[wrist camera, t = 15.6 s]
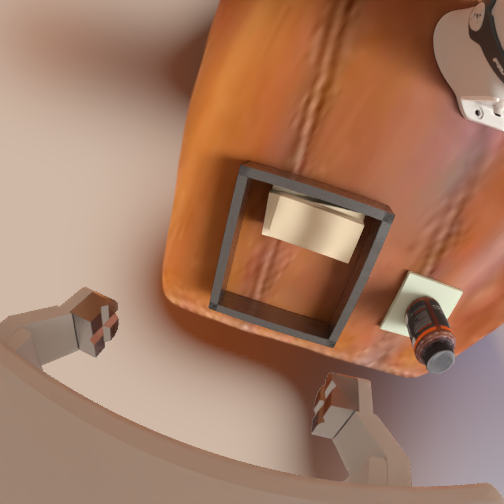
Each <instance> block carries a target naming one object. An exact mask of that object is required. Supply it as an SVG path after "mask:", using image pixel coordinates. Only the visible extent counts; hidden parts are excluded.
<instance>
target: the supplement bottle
mask: <svg viewBox="0 0 504 504" xmlns="http://www.w3.org/2000/svg"><path fill="white" fill-rule="evenodd" d="M405 323H406V327H407V329H408V333H409V336H410V339H411V343H412V346H413V350H414V353H415V356H416V358H417V360H418V361H419V362H420V363H422V364H424V365H426V368H427V370H428V371H429V372H430V373H434V374H438V373H442V372H444V371H446V370H447V369H449V368H450V367H451V366H452V364H453V363H454V361H455V354H454V349H455V346H456V339H455V336H454V333H453V331H452V329H451V327H450V325H449V323H448V321H447V319H446V316H445V314H444V312H443V310H442V308H441V306H440V305H439V303H438V302H437V301H436V300H435V299H434V298H431V297H421V298H419V299H416V300H415V301H413V302H412V303H411V304H410V305H409V306H408V308H407V309H406V312H405Z"/></svg>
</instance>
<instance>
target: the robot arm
mask: <svg viewBox="0 0 504 504" xmlns="http://www.w3.org/2000/svg"><path fill="white" fill-rule="evenodd" d="M433 47H434V53H435V57H436V61H437V64H438V66H439V68H440V71H441V73H442V75H443V76H444V78H445V80H446V81H447V83H448V84H449V85H450V87H451V88H452V90H453V91H454V93H455V95H456V98H457V102H458V105H459V109H460V111H461V114H462V115H463V117H464V118H465V119H467V120H470V121H473V122H476V123H479V124H482V125H485V126H488V127H491V128H494V129H497V130H500V131H502V132H504V0H482V1H481V2H480V3H479V4H478V5H477V6H474V7H471V8H467V9H461V10H454V11H451V12H449V13H447V14H445V15H444V16H443V17H442V18H441V19H440V20H439V22H438V23H437V25H436V28H435V31H434V36H433ZM476 110H477V111H478V116H477V115H476V114H475V111H476ZM117 310H118V303H117V302H116V301H115V300H112V299H111V298H109V297H106V296H104V295H102V294H100V293H98V292H95V291H93V290H91V289H89V288H86V287H84V288H82V289H80V290H79V291H78V292H77V293H76V294H74V295H73V296H72V297H71V298H70V299H68V300H67V301H66V302H65V303H63V304H62V305H61V306H60V307H59V306H53V307H48V308H44V309H39V310H35V311H30V312H26V313H21V314H17V315H12V316H8V317H7V318H6V319H5V320H3V321H2V322H1V323H0V504H504V497H503V496H502V495H501V494H500V493H499V491H498V490H497V489H496V488H495V487H494V486H493V485H492V484H489V483H477V484H467V485H454V486H435V487H434V486H432V487H412V482H411V469H410V459H409V458H408V456H407V455H406V454H405V452H404V451H403V450H402V448H401V447H400V446H399V444H398V443H397V442H396V440H395V439H394V438H393V436H392V435H391V434H390V432H389V431H388V430H387V428H386V427H385V426H384V424H383V423H382V421H381V420H380V419H379V417H378V416H377V415H374V414H373V406H372V395H371V383H370V381H369V380H366V379H361V378H355V377H351V376H346V375H342V374H338V373H333V372H330V373H329V374H328V376H327V377H326V381H325V385H324V386H321V388H320V390H319V392H318V394H317V396H316V399H315V404H314V411H315V413H316V415H315V417H314V418H313V421H312V430H311V434H313V435H317V436H322V437H326V438H331V439H333V442H334V444H335V446H336V448H337V450H338V452H339V454H340V456H341V459H342V461H343V463H344V465H345V467H346V469H347V471H348V473H349V475H350V477H348V478H347V479H346V480H345V481H344V482H338V481H331V480H324V479H318V478H312V477H306V476H301V475H295V474H290V473H286V472H281V471H276V470H272V469H268V468H264V467H260V466H255V465H252V464H248V463H244V462H241V461H237V460H234V459H230V458H227V457H224V456H220V455H218V454H214V453H211V452H208V451H205V450H202V449H199V448H196V447H193V446H191V445H188V444H186V443H183V442H180V441H178V440H175V439H173V438H170V437H168V436H165V435H163V434H160V433H158V432H155V431H153V430H151V429H148V428H146V427H144V426H142V425H139V424H137V423H135V422H133V421H131V420H129V419H127V418H124V417H122V416H120V415H118V414H116V413H114V412H112V411H110V410H108V409H107V408H104V407H103V406H101V405H99V404H97V403H95V402H93V401H91V400H90V399H88V398H86V397H84V396H83V395H81V394H79V393H77V392H76V391H74V390H72V389H71V388H69V387H67V386H66V385H64V384H62V383H61V382H59V381H57V380H56V379H54V378H53V377H51V376H50V375H48V374H47V373H45V372H43V369H42V365H44V364H46V363H49V362H51V361H54V360H56V359H58V358H61V357H63V356H66V355H68V354H71V353H73V352H75V351H78V349H79V350H81V351H83V352H85V353H87V354H89V355H91V356H93V357H97V356H98V355H99V353H100V352H101V351H102V350H103V349H104V348H105V342H107V341H110V340H112V338H113V337H114V336H115V334H116V332H117V330H118V324H119V323H118V321H119V319H118V317H117V316H116V314H115V312H116V311H117Z"/></svg>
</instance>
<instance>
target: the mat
mask: <svg viewBox="0 0 504 504" xmlns="http://www.w3.org/2000/svg"><path fill="white" fill-rule="evenodd" d="M462 293H463V291H462V290H461V289H458V288H456V287H453V286H450V285H448V284H445V283H442V282H439V281H437V280H434V279H431V278H428V277H426V276H423V275H420V274H417V273H414V272H412V271H408V273H407V275H406V277H405V279H404V281H403V283H402V285H401V287H400V289H399V291H398V293H397V295H396V297H395V299H394V301H393V303H392V305H391V306H390V308H389V310H388V312H387V314H386V316H385V317H384V319H383V321H382V323H381V324H380V329H383V330H387V331H390V332H394V333H397V334H401V335H405V336H408V337H410V336H409V333H408V329H407V327H406V323H405V312H406V309H407V308H408V306H409V305H410V304H411V303H412V302H413V301H415V300H416V299H419V298H421V297H431V298H434V299H435V300H436V301H437V302H438V303H439V305H440V306H441V308H442V310H443V312H444V314H445V316H446V319H448V317H449V316H450V314H451V312H452V311H453V309H454V307H455V306H456V304H457V302H458V300H459V299H460V297H461V295H462Z"/></svg>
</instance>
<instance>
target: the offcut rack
mask: <svg viewBox="0 0 504 504" xmlns="http://www.w3.org/2000/svg"><path fill="white" fill-rule="evenodd" d="M253 179H256V180H259V181H263V182H266V183H269V184H273V185H276V186H279V187H283V188H286V189H289V190H292V191H296V192H299V193H302V194H305V195H308V196H311V197H314V198H318V199H321V200H324V201H327V202H330V203H333V204H336V205H339V206H342V207H345V208H347V209H350V210H353V211H356V212H359V213H362V214H365V215H367V216H370V217H373V218H375V219H374V222H373V224H372V227H371V229H370V232H369V234H368V237H367V239H366V242H365V244H364V247H363V249H362V251H361V254H360V256H359V259H358V261H357V263H356V266H355V268H354V270H353V273H352V275H351V277H350V280H349V282H348V284H347V286H346V289H345V291H344V293H343V295H342V297H341V299H340V302H339V304H338V306H337V308H336V310H335V312H334V314H333V317H332V319H331V321H330V323H325V322H322V321H319V320H315V319H312V318H309V317H306V316H302V315H299V314H296V313H293V312H290V311H286V310H283V309H280V308H277V307H274V306H271V305H268V304H265V303H262V302H259V301H255V300H252V299H249V298H246V297H243V296H240V295H237V294H234V293H232V292H229V291H226V287H227V283H228V278H229V274H230V270H231V266H232V262H233V258H234V254H235V250H236V245H237V241H238V237H239V233H240V229H241V225H242V221H243V217H244V213H245V209H246V205H247V201H248V197H249V193H250V189H251V185H252V181H253ZM394 217H395V214H394V213H393V211H392V210H391V209H390V207H389V206H387V205H385V204H382V203H379V202H376V201H374V200H371V199H368V198H365V197H363V196H360V195H357V194H354V193H351V192H348V191H346V190H343V189H340V188H337V187H334V186H331V185H328V184H325V183H322V182H319V181H315V180H312V179H309V178H306V177H303V176H300V175H296V174H293V173H290V172H287V171H283V170H280V169H276V168H273V167H269V166H266V165H262V164H259V163H255V162H252V161H246V162H245V163H243V164H241V165H240V169H239V173H238V177H237V181H236V185H235V190H234V194H233V198H232V203H231V207H230V211H229V216H228V220H227V224H226V229H225V233H224V238H223V242H222V247H221V251H220V256H219V260H218V265H217V270H216V274H215V279H214V284H213V289H212V293H211V298H210V303H209V309H212V310H215V311H218V312H221V313H223V314H226V315H229V316H232V317H235V318H238V319H241V320H244V321H247V322H250V323H253V324H256V325H259V326H262V327H265V328H268V329H271V330H275V331H278V332H281V333H284V334H287V335H291V336H294V337H297V338H300V339H304V340H307V341H310V342H314V343H317V344H321V345H324V346H327V347H331V348H333V347H334V346H335V344H336V342H337V340H338V338H339V336H340V334H341V332H342V331H343V329H344V327H345V325H346V323H347V321H348V319H349V317H350V315H351V313H352V311H353V309H354V307H355V305H356V303H357V301H358V299H359V297H360V295H361V292H362V290H363V288H364V286H365V284H366V282H367V280H368V278H369V275H370V273H371V271H372V269H373V267H374V264H375V262H376V260H377V258H378V255H379V253H380V251H381V248H382V246H383V244H384V241H385V239H386V236H387V234H388V232H389V229H390V227H391V224H392V222H393V219H394Z"/></svg>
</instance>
